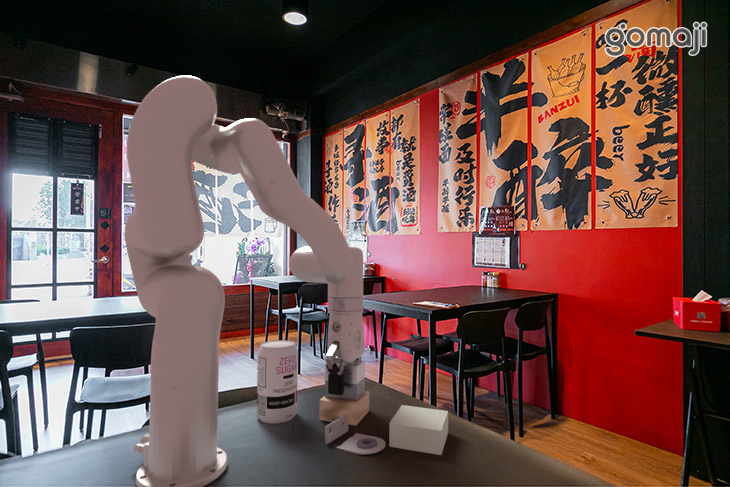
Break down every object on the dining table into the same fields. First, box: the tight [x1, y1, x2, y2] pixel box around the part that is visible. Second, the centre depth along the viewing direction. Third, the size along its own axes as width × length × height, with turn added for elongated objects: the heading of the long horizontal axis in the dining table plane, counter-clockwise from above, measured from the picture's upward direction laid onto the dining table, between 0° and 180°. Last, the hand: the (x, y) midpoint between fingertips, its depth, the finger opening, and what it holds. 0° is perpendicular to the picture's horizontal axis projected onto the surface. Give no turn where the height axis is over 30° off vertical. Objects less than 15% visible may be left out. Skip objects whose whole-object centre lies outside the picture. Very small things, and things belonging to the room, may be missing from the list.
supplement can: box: [256, 339, 299, 425], centre depth 80 cm, size 8×8×15 cm
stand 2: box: [388, 404, 449, 456], centre depth 70 cm, size 9×9×4 cm
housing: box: [324, 358, 366, 402], centre depth 81 cm, size 7×5×7 cm
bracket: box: [324, 415, 386, 455], centre depth 68 cm, size 7×10×4 cm, turn 57°
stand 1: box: [318, 390, 370, 426], centre depth 81 cm, size 8×8×4 cm
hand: (345, 386), depth 81 cm, fingers open, 9 cm apart
